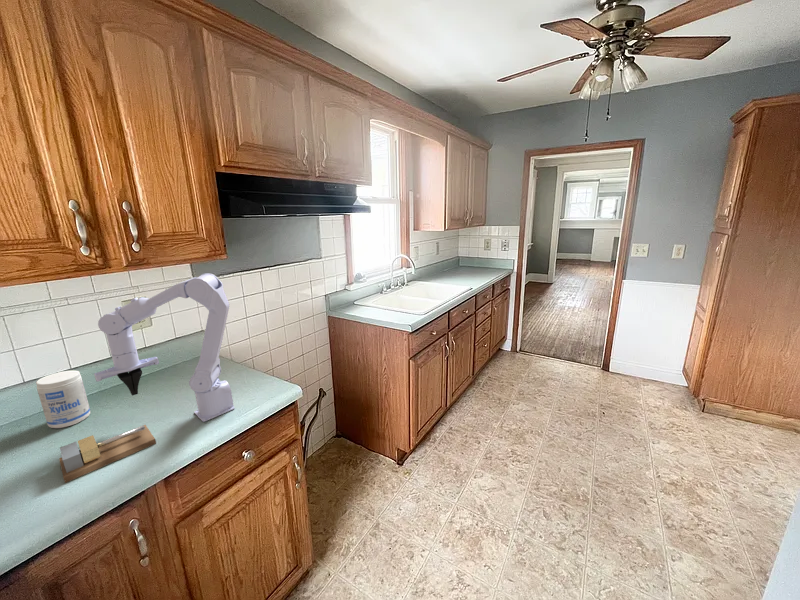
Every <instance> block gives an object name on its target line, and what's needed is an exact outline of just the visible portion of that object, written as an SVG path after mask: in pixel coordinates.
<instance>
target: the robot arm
mask: <svg viewBox="0 0 800 600" xmlns="http://www.w3.org/2000/svg"><path fill="white" fill-rule="evenodd" d="M178 298H183V299H188V298H190V299H192V300H193V301H195V302H197V303H199V304H200V305H202V306H204V307H205V308H206V310H207V311H208V315H207V320H206V325H205V331H204V335H203V341H202V345H201V350H200V356H199V359H198V362H197V363H196V366H195V369H194V373H193V374H192V376H190V379H189V380H188V383H189V384H188V385H189V388H190V389H191V390H192V391H194V395H195V399H196V405H197V410H194V411H193V412H194V415H196V416H197V418H199V419H200V420H201V421H202V422H203V423H204V422H208V421H209V420H212V419H214V418H217V417H219V416H221V415H223V414H225V413H228V412H230V411H233V410H234V409H235V408H236V407H235V406H234V399H233V395H232V390H231V389H232V388H231V386H230V384H229V382H228V381H227V380H226V379H225V380H220V378H219V376H220V375H221V374H222V368H221V364H220V362H221V359H220V353H221V348H222V343H223V339H224V334H225V329H226V324H227V319H228V316H229V315H228V314H229V309H230V302H229V299H228V297H227V295H226V291H225V290H224V283H223V282H222V281H221V280H220V279H219V278H218V276H217V275H215V274H213V273H208V272H207V273H206V272H205V273H202V274H200V275H199V276H194V277H191V278H189V279H186V280H183V281H180V282H178V283H175V284H174V285H172V286H170V287H168V288H167V289H164V290H162V291H161V292H159V293H157V294H156V295H153V296H152V297H150V298H149V297H143V296H141V297H139V298H138V297H137V296H136V297H134V298H132V299H130V302H128V303H127V304H124V305H123V306H117V307H115V308H114V310H113V311H111V312H109V313H106V314H104V315H102V317H100V318H99V320H97V321H98V322H97V326H98V328H99V330H100V331H101V332H102V333H104V334H105V335H106V339H107V340H106V341H107V344H108V348H109V351H110V354H111V359H112V363H113V366H111V367H110V368H106V369H104V370H101V371H98V372H95V373H93V374H94V378H95V381H96V382H102V381H103V380H105V379H108V378H112V377H115V376H117V377H118V378H119V380H120V381H121V382H122V383H123V384H125V386H126V387H127V388H128V390H129V393H130V394H131V396H136V395H138V394H139V385H140V384H139V383H140V380H141V377H142V376H143V371H142V369H143V368H146V367H150V366H153V365H154V366H157V365H159V364H160V361H159V357H157V356H153V357H148V358H143V359H139V354H138V350H137V345H136V341H135V337H134V333H133V326H134V325H137V323H140V322H142V321H144V320H146V319H148V318H150V317H152V316H153V315H155V314H156V312H157V309H158V307H161V306H162V305H166V304H168V303H169V302H171V301H174V300H176V299H178Z"/></svg>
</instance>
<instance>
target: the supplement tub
mask: <svg viewBox="0 0 800 600" xmlns="http://www.w3.org/2000/svg"><path fill="white" fill-rule="evenodd" d="M35 383H36V390H37V394H38V397H39V401H40V403H41V408H42V411H43V414H44V417H45V421H46V424H47V426H48V427H49V428H52V429H61V428H67V427H69V426H73V425H75V424H78V423H80V422H82V421H84V420H86V419H87V418H88V417H89V416H90V415H91V409H90V404H89V401H88V396H87V392H86V389H85V386H84V385H85V384H84V381H83V378H82V375H81V373H80V371H79V370H71V369H70V370H63V371H59V372H54V373H51V374H48V375H46V376H43V377H41V378H39V379H38V380H37V381H36V382H35Z"/></svg>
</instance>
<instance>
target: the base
mask: <svg viewBox="0 0 800 600" xmlns="http://www.w3.org/2000/svg"><path fill="white" fill-rule="evenodd" d="M96 444H97V446H98V449H99V453H100V456H101V457H99V458H97V459H94V460H92V461H89V462H87V463H84V460H83V457H82V453H81V450H80V448H79V445H78V441H74V442H71V443H68V444H66V445H63V446H60V447H59V451H60V454H61V457H58V460H59V464H60V469H61V473H62V474H61V475H62V477H63V480H64V483H65V484H66V483H68V482H71V481H73V480H75V479H78V478H80V477H82V476H84V475H87V474H89V473H91V472H93V471H97V470H98V469H100V468H103V467H105V466H107V465H109V464H112V463H114V462H117V461H119V460H122V459H123V458H127V457H128V456H131V455H133V454H136V453H138V452H139V451H142V450H145V449H147V448H149V447H152V446H153V445H156V444H157V441H156V438H155V437H154V435H153V434H152V432H151V431H150V430H149V428H148V426H147V425H146V424H144V425H140V426H138V427H135V428H134V429H133V428H132V429H130V430H128V431H125V432H123V433H120V434H118V435H115V436H112V437H110V438H108V439H105V440H102V441H100V442H98V443H97V442H96Z"/></svg>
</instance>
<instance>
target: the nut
mask: <svg viewBox="0 0 800 600" xmlns="http://www.w3.org/2000/svg"><path fill="white" fill-rule="evenodd" d="M77 445H78V448H79V450H81V453H82V457H83V460H84V463H87V462H89V461H92V460H94V459H97V458H99V457H101V456H100V453H99V449H98V446H97V441H96V438H95V436H94V434H93V435H90V436H87V437H84V438H82V439H78V440H77Z"/></svg>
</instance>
